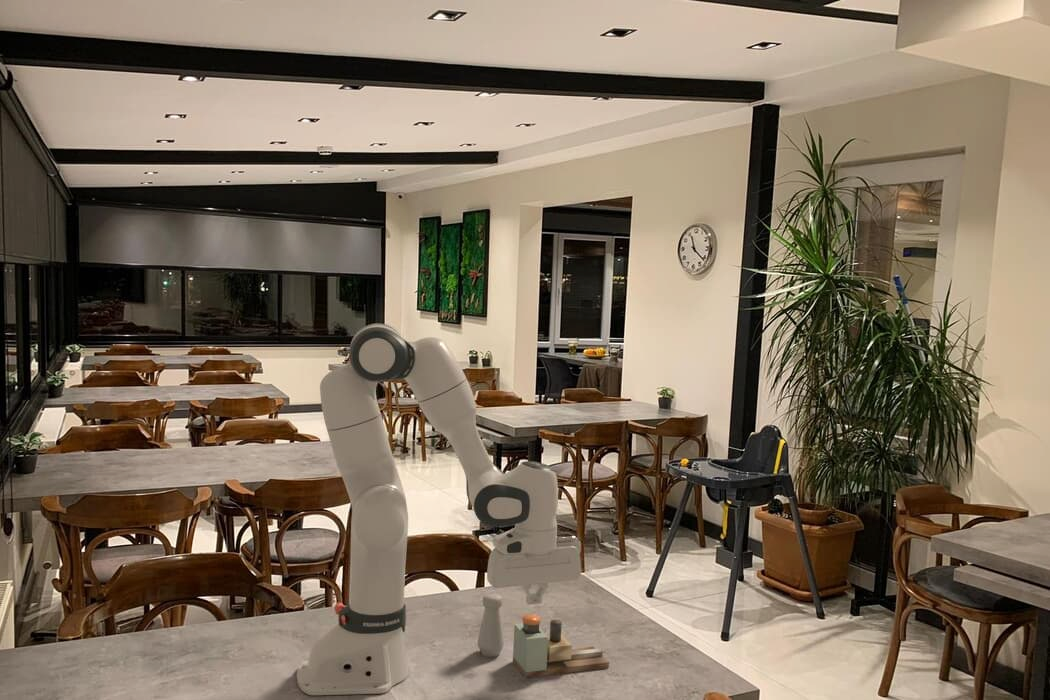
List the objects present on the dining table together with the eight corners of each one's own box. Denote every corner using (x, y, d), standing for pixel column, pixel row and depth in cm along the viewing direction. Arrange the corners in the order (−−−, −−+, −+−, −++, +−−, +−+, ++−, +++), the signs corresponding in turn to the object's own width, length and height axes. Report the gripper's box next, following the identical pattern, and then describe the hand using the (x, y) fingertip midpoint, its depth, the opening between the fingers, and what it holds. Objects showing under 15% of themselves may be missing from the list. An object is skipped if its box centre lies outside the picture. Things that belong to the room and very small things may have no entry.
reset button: (525, 644, 170) (526, 622, 170) (519, 637, 174) (520, 615, 174) (542, 642, 172) (543, 620, 171) (535, 635, 175) (536, 613, 175)
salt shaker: (499, 660, 176) (502, 601, 176) (474, 657, 177) (476, 598, 177) (505, 649, 182) (508, 592, 181) (481, 646, 183) (483, 589, 182)
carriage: (549, 661, 171) (550, 628, 171) (538, 648, 177) (539, 617, 177) (571, 658, 173) (572, 626, 173) (559, 646, 179) (561, 615, 179)
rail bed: (525, 677, 169) (525, 667, 169) (512, 661, 176) (513, 651, 176) (608, 667, 175) (609, 657, 175) (592, 651, 183) (593, 642, 183)
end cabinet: (525, 672, 169) (527, 639, 168) (513, 655, 176) (514, 624, 176) (546, 669, 170) (548, 636, 170) (532, 653, 178) (534, 622, 177)
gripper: (575, 531, 178) (573, 593, 179) (485, 538, 171) (483, 602, 172) (587, 539, 172) (585, 603, 173) (494, 547, 165) (493, 613, 166)
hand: (533, 603), depth 172 cm, fingers closed
